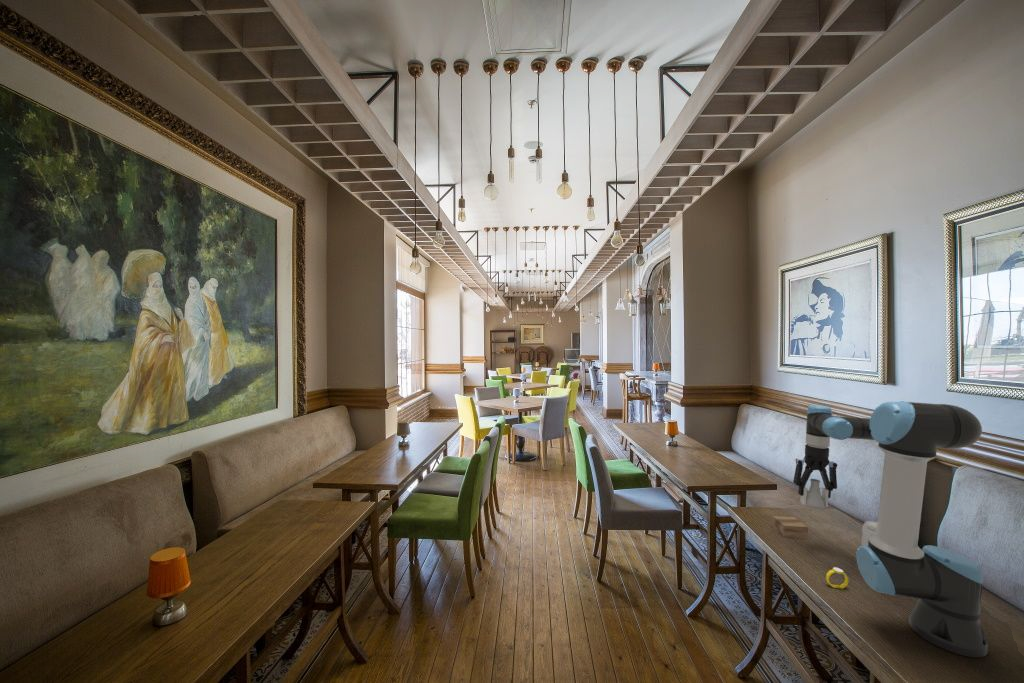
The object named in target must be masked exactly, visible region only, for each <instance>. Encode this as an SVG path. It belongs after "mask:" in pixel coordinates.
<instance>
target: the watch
mask: <svg viewBox="0 0 1024 683" xmlns="http://www.w3.org/2000/svg"><path fill="white" fill-rule="evenodd" d="M835 573H836V574H839V575H843V576H844V582H843V583H841V584H840V585H839V584H832V583H831V581H830V578H831V575H832V574H835ZM847 575H848V574H846V573H845V572H844V570H843V569H841V568H839V567H837V566H835V567H832V569H829V570H828V572H827V573H826V574H825V580H826V582H827V584H828V585H829V586H830V587H832V588H835V589H842V590H843V589H844V588H847V586H848V584H849V576H847Z"/></svg>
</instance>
